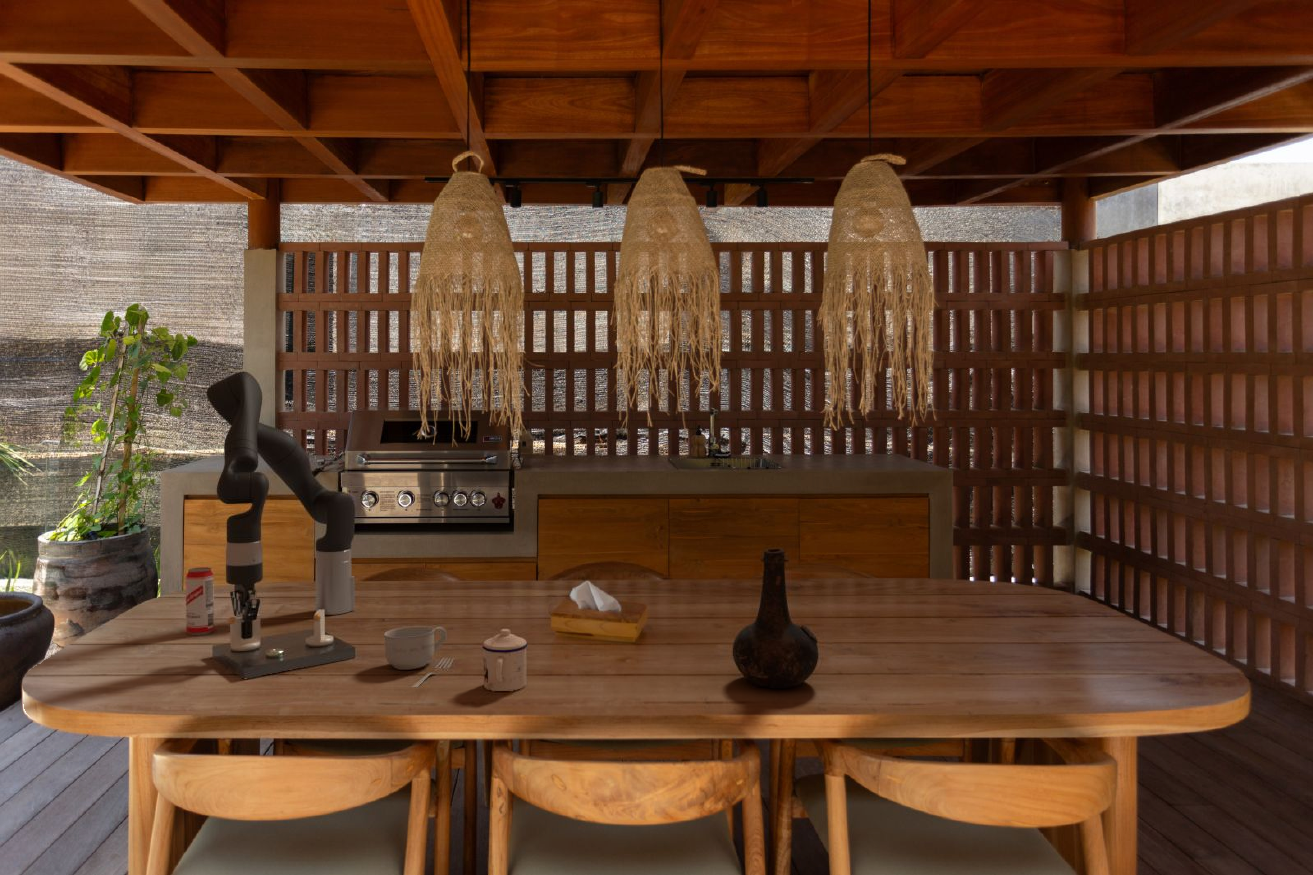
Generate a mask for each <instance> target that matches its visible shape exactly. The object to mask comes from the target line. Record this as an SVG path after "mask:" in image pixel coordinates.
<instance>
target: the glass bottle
mask: <svg viewBox="0 0 1313 875" xmlns="http://www.w3.org/2000/svg"><path fill="white" fill-rule="evenodd" d="M786 553H787V552H786V550H784V549H782V548H769V549H767V548H766V549H764V550H763V557H761V558H760V559H759V561H760V562H761V563H763V572H762V585H761V595H760V601H759V608H758V612H757V616H756V619H755V620H754V621H753V622H752V623H750V624H748V625H747V626H746V625H745V627H743V628H742V629H741V630H740V631H739V632H738V634H737V635H736V636H735V639H734V641H733V645H732V658H733V661H734V663H735V665H736V668H737V670H738V671H739V672H740V673H741V674H742V676H743V677H744V678H745V679H747V680H748V681H749V682H751V683H753V684H754V685H758V686H760V687H763V686H764V687H765V688H768V687H773V688H772V689H787V688H786V687H789V688H793V687H796V686H798V685H800V684H802V683H803V682H805V681H806V680H808V678H810V676H811V675H812V674H813V672H814V671H815V670H816V667H817V664H818V662H819V647H818V639H817V637H816V636H815V634H813V632H812V631H811V630H810V629H809V628H808V627H807V626H805V625H799V624H796V623H794V622H793V621H792V619H791V615H790V611H789V610H790V609H789V606H788V605H789V604H788V597H787V589H786V572H785V567H786V566H785V563H787V562H790V558H789V557H785V556H786ZM764 687H763V688H764Z"/></svg>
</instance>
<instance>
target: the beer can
mask: <svg viewBox="0 0 1313 875" xmlns="http://www.w3.org/2000/svg"><path fill="white" fill-rule="evenodd" d="M214 576H215V575H214V573H213V571H212V567H207V566H205V567H203V566H202V567H200V566H199V567H193V568H192V567H191V568H189V569H188V570H187V574H186V575H185V614H186V615H185V618H186V622H185V623H186V624H185V625H186V626H185V628H186V632H187V633H188V634H189V635H190V636H203V635H208V634H211V633H212V632H213V631H214V630H215V627H216V625H215V579H214V578H215V577H214Z"/></svg>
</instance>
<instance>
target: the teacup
mask: <svg viewBox="0 0 1313 875" xmlns="http://www.w3.org/2000/svg"><path fill="white" fill-rule="evenodd" d="M437 632H440V633H441V634H440V635H441V637H440V639H439V640H438V642H437V643H435V635H436V634H437ZM447 636H448V634H447V631H446V629H445V628H444V627H441V626H437V627H434V628H433V627H432V626H424V625H417V626H415V625H413V626H404V627H398V628H393V629H390V630H388V631H385V632H384V634H383V637H384V650H385V651H384V652H385V658H386V661H387V662H388V664H389V665H391V666H392V667H393V668H395V669H396V668H397V670H414V669H415V670H416V669H419V668H422V667H425V666H426V665H427V664H428V663H429V661H431V660H432V659H433V657H434V654H435V652H436V651H437V650H438V649H439V648H441V646H442V645H443V644H444V643H445V642H446V640H447Z"/></svg>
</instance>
